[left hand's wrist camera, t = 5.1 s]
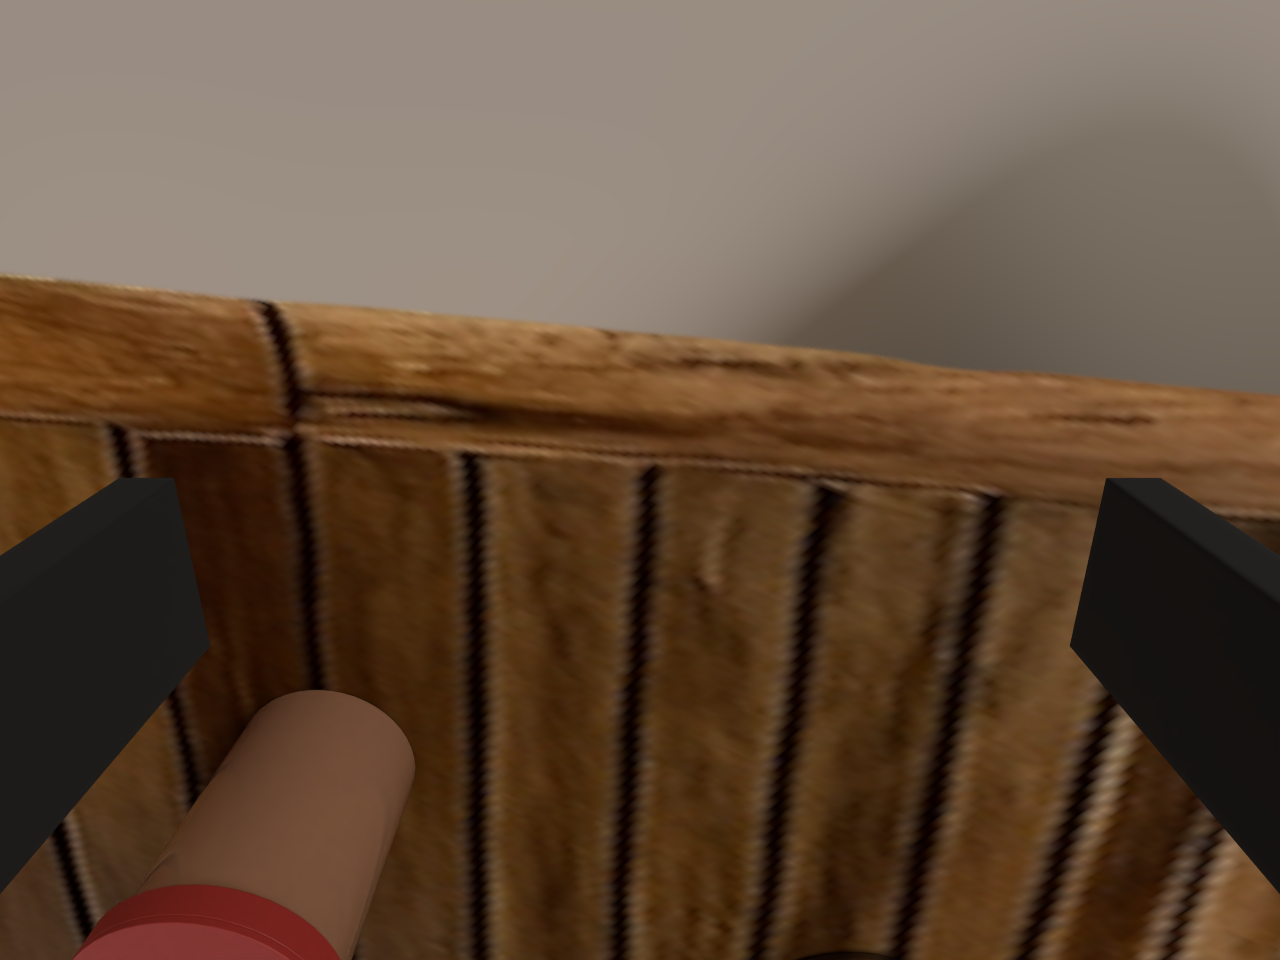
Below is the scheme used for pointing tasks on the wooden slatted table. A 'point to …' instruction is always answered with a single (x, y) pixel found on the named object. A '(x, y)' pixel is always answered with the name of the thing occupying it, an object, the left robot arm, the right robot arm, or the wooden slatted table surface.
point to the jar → (300, 812)
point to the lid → (203, 928)
